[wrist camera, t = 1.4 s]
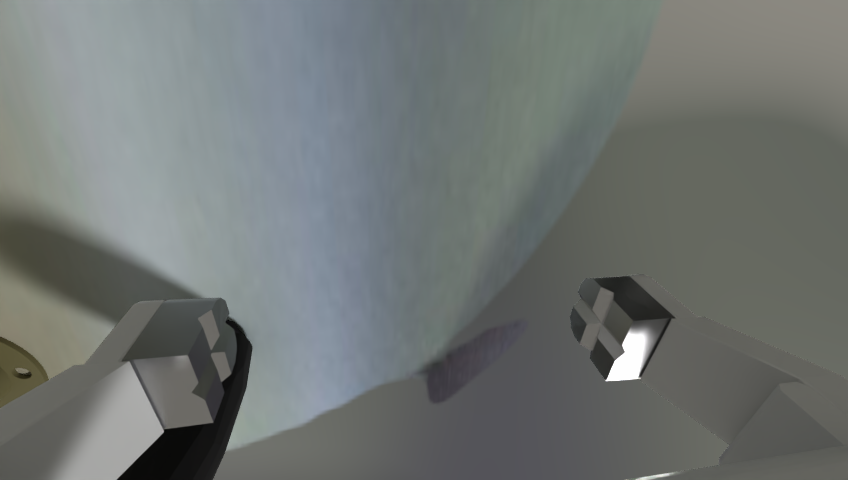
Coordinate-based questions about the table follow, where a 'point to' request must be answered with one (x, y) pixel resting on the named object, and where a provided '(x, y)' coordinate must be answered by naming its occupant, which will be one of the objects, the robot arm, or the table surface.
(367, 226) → the table surface
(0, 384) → the flange
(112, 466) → the robot arm
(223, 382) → the portable speaker
